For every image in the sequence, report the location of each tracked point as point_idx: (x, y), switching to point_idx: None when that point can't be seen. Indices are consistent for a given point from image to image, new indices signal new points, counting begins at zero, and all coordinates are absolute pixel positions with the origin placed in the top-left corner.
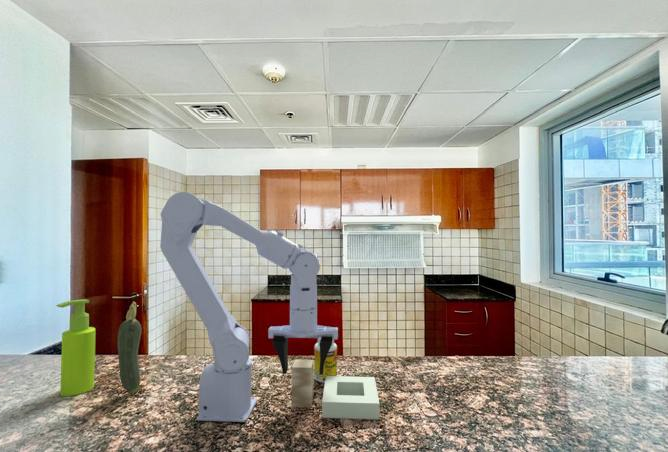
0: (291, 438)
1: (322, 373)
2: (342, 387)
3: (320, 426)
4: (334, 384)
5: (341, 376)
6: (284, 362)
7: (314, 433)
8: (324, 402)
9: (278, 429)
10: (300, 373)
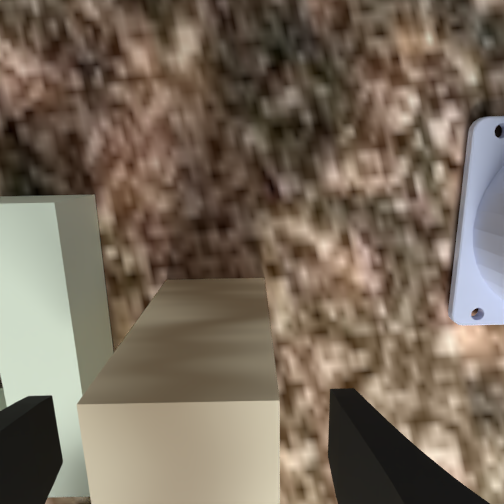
0: (210, 8)
1: (21, 401)
2: None
3: (88, 121)
4: None
5: None
6: (373, 448)
7: (105, 59)
8: (41, 203)
9: (290, 80)
10: (198, 368)
